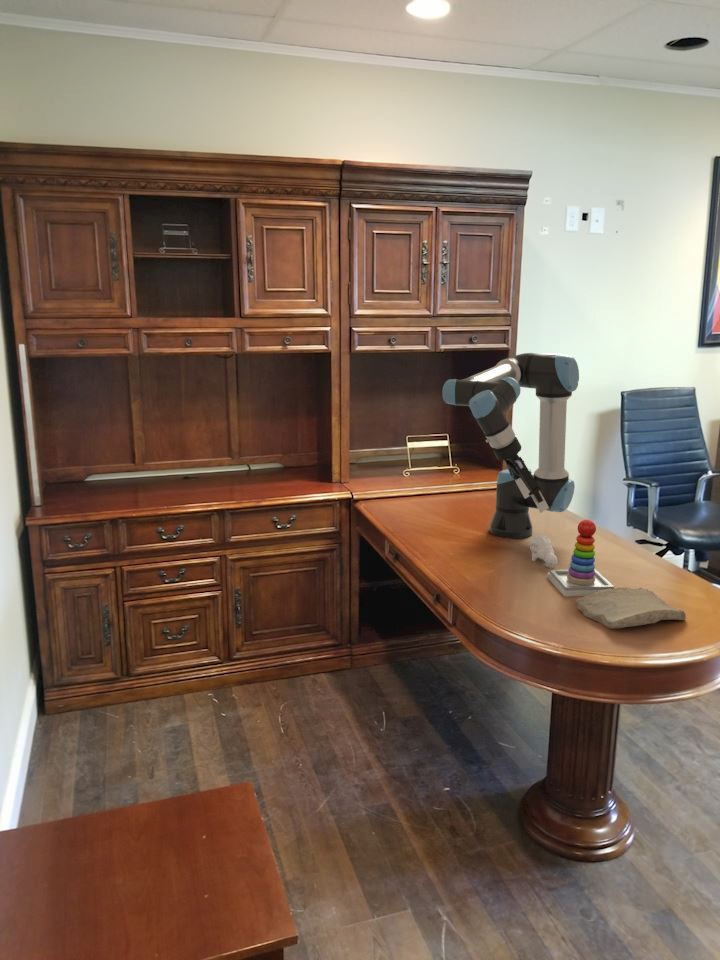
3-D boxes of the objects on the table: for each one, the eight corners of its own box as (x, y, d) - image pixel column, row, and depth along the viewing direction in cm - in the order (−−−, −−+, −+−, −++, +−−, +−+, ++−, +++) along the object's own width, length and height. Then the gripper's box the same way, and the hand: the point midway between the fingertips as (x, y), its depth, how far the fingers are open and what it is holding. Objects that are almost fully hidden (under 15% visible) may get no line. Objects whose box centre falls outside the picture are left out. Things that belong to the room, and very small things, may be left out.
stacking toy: (566, 584, 214) (571, 522, 209) (567, 574, 221) (572, 514, 217) (594, 587, 212) (600, 525, 207) (594, 577, 219) (600, 517, 215)
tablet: (695, 629, 191) (644, 594, 209) (700, 604, 188) (648, 570, 206) (615, 645, 184) (570, 607, 202) (619, 619, 181) (572, 583, 199)
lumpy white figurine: (547, 531, 239) (565, 546, 228) (544, 555, 242) (562, 571, 231) (529, 532, 238) (546, 547, 227) (526, 556, 241) (543, 573, 230)
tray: (547, 577, 223) (548, 569, 223) (595, 576, 224) (596, 568, 224) (564, 596, 209) (564, 588, 208) (615, 595, 210) (616, 587, 209)
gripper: (480, 439, 221) (511, 496, 227) (505, 459, 197) (539, 523, 203) (502, 426, 220) (533, 484, 226) (529, 445, 196) (563, 509, 203)
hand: (536, 503), depth 215 cm, fingers open, 13 cm apart
